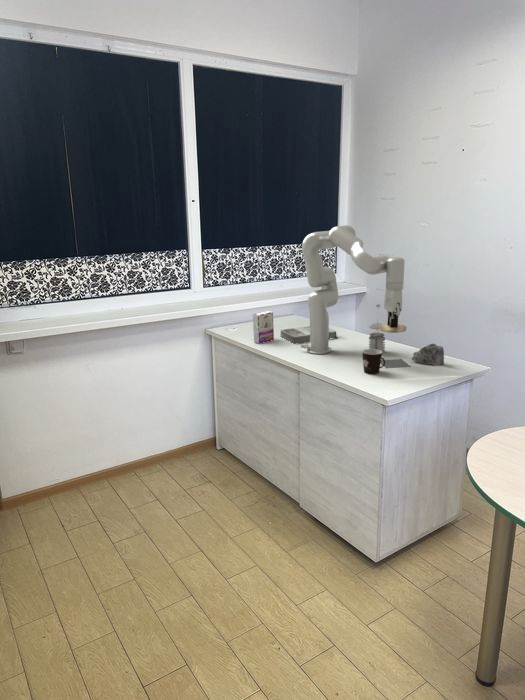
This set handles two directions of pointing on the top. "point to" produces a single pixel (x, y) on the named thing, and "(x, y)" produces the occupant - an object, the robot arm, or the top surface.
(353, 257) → the robot arm
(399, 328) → the lid
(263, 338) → the candy bar box
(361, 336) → the top surface
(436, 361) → the mineral rock
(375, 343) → the french press
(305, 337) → the flat grey box
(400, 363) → the mat
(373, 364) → the coffee mug
